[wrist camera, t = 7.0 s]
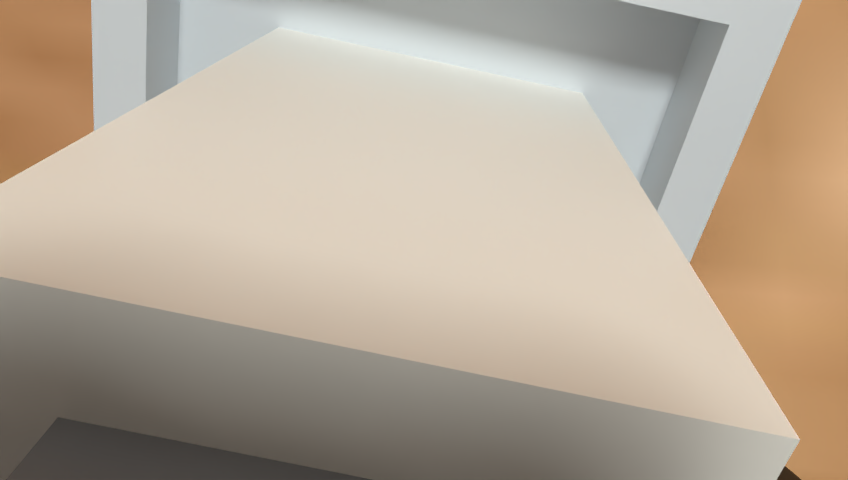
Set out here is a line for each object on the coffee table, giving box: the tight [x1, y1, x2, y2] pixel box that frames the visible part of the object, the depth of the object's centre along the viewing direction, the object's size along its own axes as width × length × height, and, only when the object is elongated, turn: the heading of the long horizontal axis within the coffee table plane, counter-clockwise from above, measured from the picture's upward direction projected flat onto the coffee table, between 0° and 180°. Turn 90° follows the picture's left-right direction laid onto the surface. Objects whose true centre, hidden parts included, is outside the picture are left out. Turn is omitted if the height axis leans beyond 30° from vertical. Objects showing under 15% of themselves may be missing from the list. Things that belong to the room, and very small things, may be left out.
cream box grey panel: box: [0, 27, 800, 480], centre depth 8 cm, size 5×7×9 cm
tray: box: [91, 0, 802, 263], centre depth 12 cm, size 10×12×2 cm
